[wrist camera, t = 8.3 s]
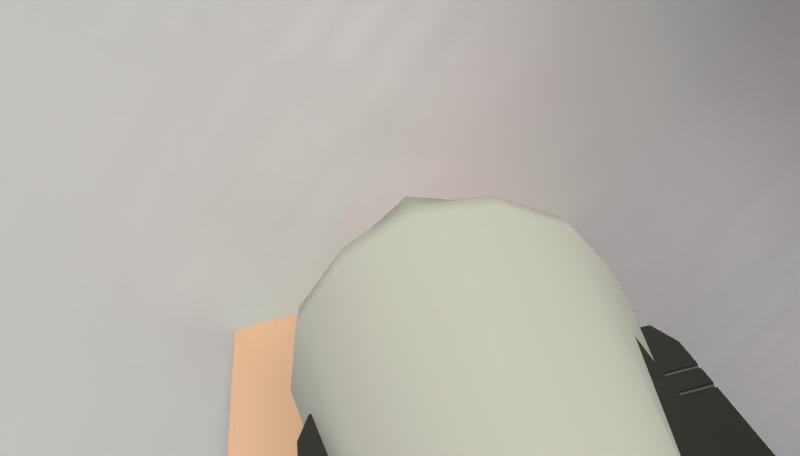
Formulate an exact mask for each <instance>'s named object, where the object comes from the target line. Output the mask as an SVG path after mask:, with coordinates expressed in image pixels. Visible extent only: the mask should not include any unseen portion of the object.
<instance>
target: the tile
mask: <svg viewBox="0 0 800 456" xmlns="http://www.w3.org/2000/svg"><path fill="white" fill-rule="evenodd" d="M297 317H298V315H294V316H290V317H286V318H282V319H278V320H274V321H270V322H266V323H262V324H258V325H254V326H250V327H246V328H241V329H237V330H235V333H234V351H233V368H232V385H231V402H230V419H229V436H228V453H227V456H298V454H297V440H298V438H299V436H300V433H301V431H302V429H303V423H302V420H301V418H300V415H299V412H298V409H297V407H296V404H295V401H294V399H293V396H292V393H291V378H292V365H293V352H294V339H295V326H296V321H297Z"/></svg>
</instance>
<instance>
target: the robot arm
mask: <svg viewBox="0 0 800 456" xmlns="http://www.w3.org/2000/svg"><path fill="white" fill-rule="evenodd" d="M640 329H641V331H642V333H643V336H644V338H645V340H646V343H647V345H648V347H649V350H650V352H651V354H652V356H653V359H654V360H653V359H652V358H651V356H650V355H649V354H648V352H647V351H646V350H645V349H644V347H643V346H642V345H641V343H640V342H639V341H638V339H637V338H636V337H635V338H636V340H637V343H638V345H639V348H640V351H641V353H642V356H643V359H644V361H645V364H646V366H647V369H648V372H649V374H650V377H651V379H652V382H653V385H654V387H655V390H656V392H657V395H658V398H659V400H660V403H661V406H662V408H663V411H664V413H665V416H666V419H667V421H668V424H669V426H670V429H671V432H672V434H673V437H674V440H675V442H676V445H677V447H678V450H679V453H680V455H681V456H775V455H774V454H773V453H772V451H771V450H770V449H769V448H768V447H767V445H766V444H765V443H764V442H763V441H762V440H761V438H760V437H759V436H758V435H757V434H756V432H755V431H754V430H753V429H752V428H751V427H750V425H749V424H748V423H747V422H746V421H745V419H744V418H743V417H742V416H741V415H740V413H739V412H738V411H737V410H736V409H735V408H734V406H733V405H732V404H731V403H730V402H729V400H728V399H727V398H726V397H725V396H724V395H723V393H722V392H721V391H720V390H719V389H718V387H716V388H715V387H714V384H713V382H712V380H711V379H710V378H709V377H708V376H707V374H706V373H705V372H704V371H703V370H702V368H701V369H699V367H698V364H697V363H696V361H695V360H694V359H693V358H692V357H691V355H690V354H689V353H688V352H687V351H686V350H685V348H684V347H683V346H682V345H681V344H680V342H679V341H677V340H675V339H673V338H672V337H670V336H668V335H666V334H664V333H663V332H661V331H659V330H657V329H655V328H654V327H652V326H650V325H649V326H645V327H641V328H640ZM654 361H655V362H654ZM297 454H298V456H328V454H327V452H326V449H325V447H324V444H323V442H322V439H321V437H320V434H319V432H318V429H317V427H316V425H315V422H314V420H313V417H312V415H311V414H309V415H308V417H307V420H306V422H305V424H304V426H303V429H302V431H301V433H300V436H299V438H298V440H297Z"/></svg>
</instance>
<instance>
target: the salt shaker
mask: <svg viewBox="0 0 800 456" xmlns="http://www.w3.org/2000/svg"><path fill="white" fill-rule="evenodd" d="M635 337H636V338H637V339H638V341H639V342H640V343H641V345H642V346H643V347H644V349H645V350H646V351H647V352H648V354H649V355H650V356H651V358H652V359H653V356H652V354H651V352H650V350H649V347H648V345H647V343H646V340H645V338H644V336H643V333H642V331H641V329H640V326H639V324H638V322H637V320H636V317H635V315H634V313H633V310H632V308H631V306H630V303H629V301H628V299H627V296H626V294H625V292H624V289H623V287H622V285H621V283H620V280H619V278H618V276H617V275H616V273H615V272H614V271H613V270H612V269H611V268H610V267H609V266H608V265H607V264H606V263H605V262H604V261H603V260H602V258H601V257H600V256H599V255H598V254H597V253H596V252H595V251H594V250H593V249H592V248H591V247H590V246H589V244H588V243H587V242H586V241H585V240H584V239H583V238H582V237H581V236H580V235H579V234H578V233H577V232H576V231H575V229H574V228H573V227H571V226H570V225H569V224H567V223H566V222H565V221H563V220H562V219H561V218H560V217H558V216H555V215H552V214H549V213H545V212H542V211H539V210H535V209H532V208H529V207H525V206H522V205H519V204H515V203H512V202H509V201H506V200H502V199H499V198H496V197H492V196H484V197H476V198H468V199H459V200H443V199H429V198H415V197H405V198H404V199H403V200H402V201H401V202H400V203H399V204H398V205H396V206H395V207H394V208H393V209H392V210H391V211H390V212H389V213H388V214H387V215H386V216H384V217H383V218H382V219H381V220H380V221H379V222H378V223H377V224H376V225H375V226H374V227H372V228H371V229H370V230H369V231H367V232H366V233H364V234H363V235H361V236H360V237H358V238H356V239H355V240H353V241H352V242H350V243H349V244H347V245H346V246H344V247H343V248H342V250H341V251H340V252H339V254H338V255H337V256H336V258H335V259H334V261H333V262H332V263H331V265H330V266H329V267H328V269H327V270H326V272H325V273H324V274H323V276H322V277H321V278H320V280H319V281H318V283H317V284H316V285H315V287H314V288H313V289H312V291H311V292H310V294H309V295H308V296H307V298H306V299H305V300H304V302H303V303H302V305H301V306H300V308H299V313H298V317H297V321H296V326H295V339H294V352H293V365H292V378H291V393H292V396H293V399H294V401H295V404H296V407H297V409H298V412H299V415H300V418H301V420H302V423H303V426H304V424H305V422H306V420H307V417H308V415H309V414H311V415H312V417H313V420H314V422H315V425H316V427H317V429H318V432H319V434H320V437H321V439H322V442H323V444H324V447H325V449H326V452H327V454H328V456H681V455H680V453H679V450H678V447H677V445H676V442H675V440H674V437H673V434H672V432H671V429H670V426H669V424H668V421H667V419H666V416H665V413H664V411H663V408H662V406H661V403H660V400H659V398H658V395H657V392H656V390H655V387H654V385H653V382H652V379H651V377H650V374H649V372H648V369H647V366H646V364H645V361H644V359H643V356H642V353H641V351H640V348H639V345H638V343H637V340H636V338H635ZM653 360H654V359H653ZM654 362H655V361H654Z"/></svg>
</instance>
